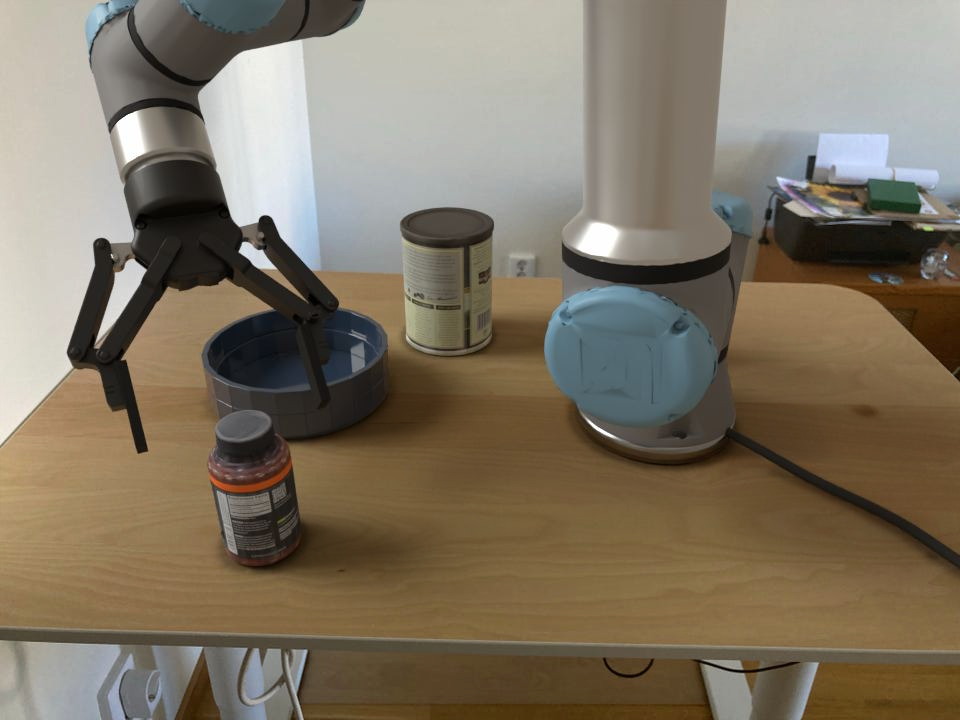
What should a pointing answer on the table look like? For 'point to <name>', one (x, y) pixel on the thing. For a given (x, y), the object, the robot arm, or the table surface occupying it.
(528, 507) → the table surface
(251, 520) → the supplement bottle
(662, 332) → the robot arm
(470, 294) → the coffee can
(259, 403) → the bowl
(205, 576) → the table surface
